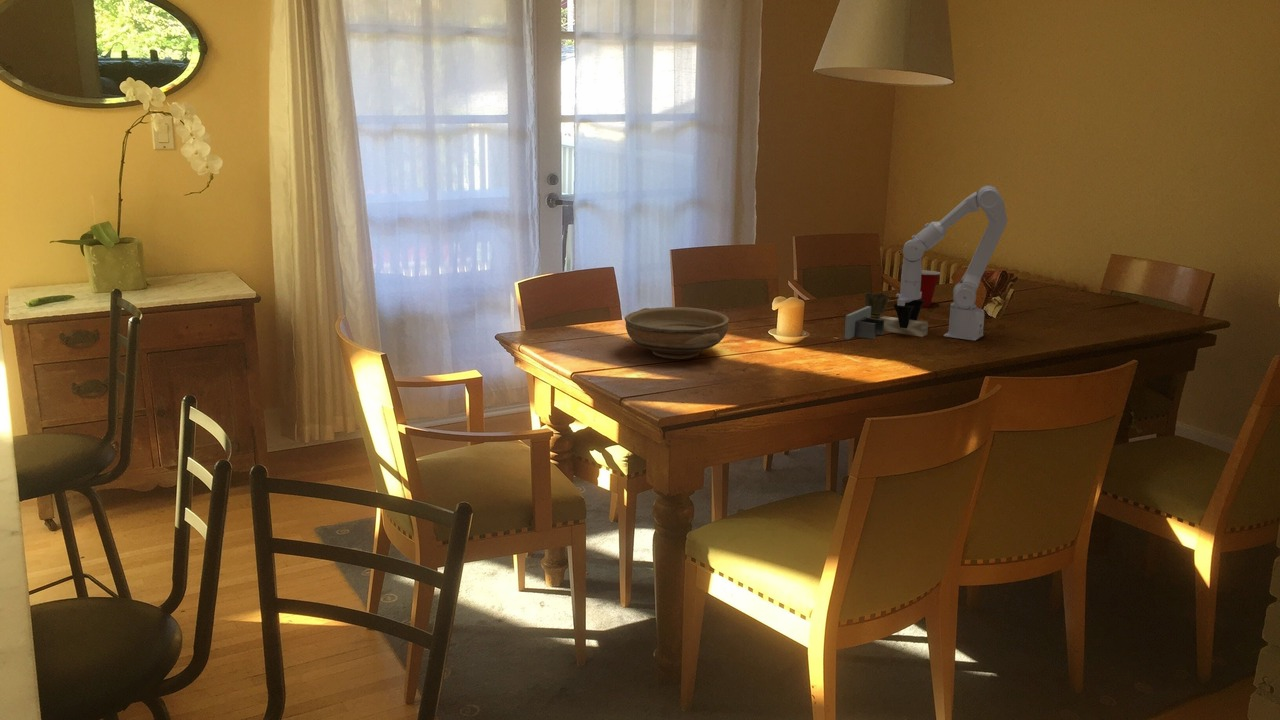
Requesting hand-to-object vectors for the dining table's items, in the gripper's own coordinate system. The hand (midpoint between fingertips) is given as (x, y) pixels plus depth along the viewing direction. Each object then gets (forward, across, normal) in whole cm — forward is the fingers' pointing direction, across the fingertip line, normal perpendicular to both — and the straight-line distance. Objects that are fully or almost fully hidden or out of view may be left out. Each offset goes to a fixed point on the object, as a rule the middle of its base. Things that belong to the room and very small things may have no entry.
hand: (907, 325), depth 303 cm
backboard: (+2, +10, -12) cm, 15 cm away
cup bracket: (+2, +10, -8) cm, 13 cm away
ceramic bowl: (+2, +60, -44) cm, 74 cm away
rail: (+2, 0, -2) cm, 3 cm away
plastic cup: (+2, -41, -10) cm, 42 cm away
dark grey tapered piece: (+2, -13, -16) cm, 20 cm away
